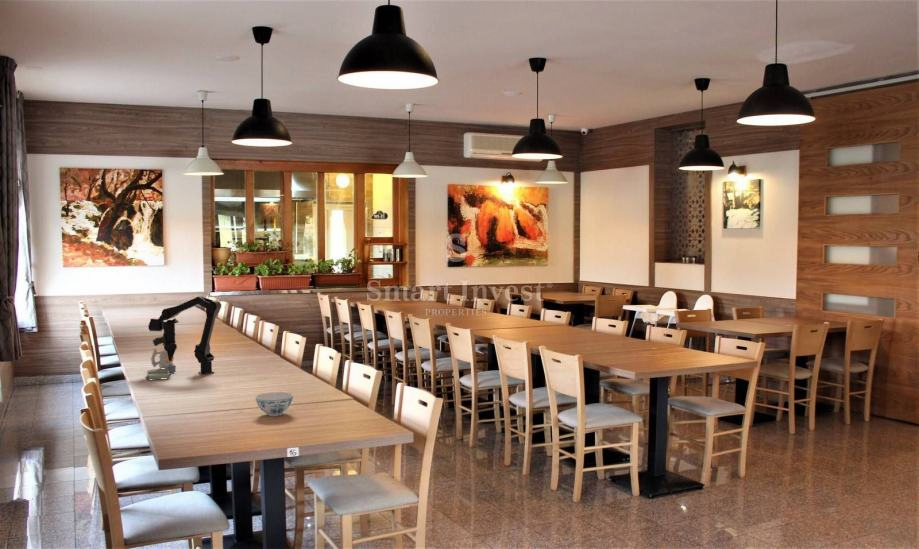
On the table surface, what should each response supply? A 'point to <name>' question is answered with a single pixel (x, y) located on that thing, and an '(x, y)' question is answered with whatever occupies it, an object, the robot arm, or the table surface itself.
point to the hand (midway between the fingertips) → (170, 360)
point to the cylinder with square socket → (170, 368)
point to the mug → (163, 361)
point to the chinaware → (274, 402)
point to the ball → (168, 359)
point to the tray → (158, 374)
